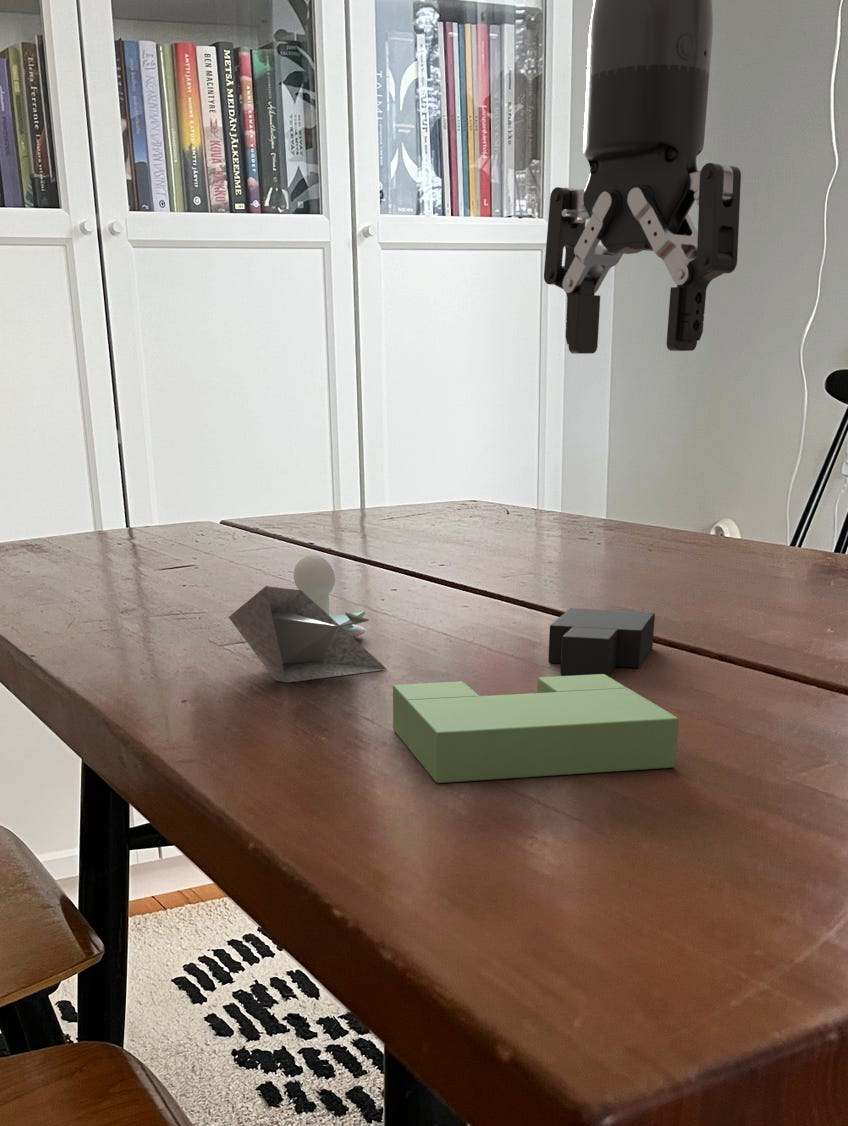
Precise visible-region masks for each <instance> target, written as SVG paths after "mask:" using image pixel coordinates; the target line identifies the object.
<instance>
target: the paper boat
mask: <svg viewBox="0 0 848 1126" xmlns="http://www.w3.org/2000/svg"><path fill="white" fill-rule="evenodd" d="M352 614H353V613H349V612H345V613H344V615H346V616H347V617H348V618H349V619H350V620H351V621H352V622H351V623H347V624H342V625H339V624H337V623H336V622H335V621H334V620H333V619H332V618H331V617H330V616H331V615H330V614H329V615H328V614H327V613H325V612H324V611H323V610H322V609H321V608H320V607H319V606H318V605H317V604H316V603H315V602H313V601H312V600H311V599H310V598H309V597H308V596H307V595H306V594H305V593H304V592H303V591H302V590H298V589H295V588H284V587H278V586H271V585H265V586H264V587H263V588H262V589H260V590H259V591H258V592H257V593H256V594H254V595H253V596H252V597H251V598H250V599H248V600H247V601H246V602H245V603H244V604H243V605H241V606H240V607H238V609H237V610H235V611H234V612H233V613H232V614H230V615H229V616H228V619H229V620H230V622H231V623H232V624H233V626H234V627H235V628H236V629H237V631H238V632H239V633H240V635H241V636H242V637H243V639H244V640H245V642H246V643H247V644H248V646H249V647H250V649H251V650H252V651H253V652H254V654H255V655H256V657H257V658H258V659H259V660H260V662H261V663H262V665H263V666H264V667H265V668H266V670H267V671H268V673H269V674H270V675H271V676H272V678H273V680H274V681H276V682H281V683H286V684H287V683H293V682H301V681H302V682H303V681H309V680H317V679H325V678H332V677H340V676H348V675H356V674H362V673H363V674H364V673H373V672H378V671H380V672H381V671H387V670H388V668H387V667H386V666H385V665H383V664H382V663H381V662H380V661H379V660H378V659H377V658H376V657H375V656H374V655H372V654H371V653H370V652H369V651H368V650H367V649H366V648H365V647H364V646H363V645H362V644H361V643H359V641H357V640H356V639H355V638H354V637H352V636H351V635H349V634H348V633H347V632H346V631H345V630H344V629H343V628H342V627H343V626H347V625H352V624H354V625H358V624H361V623H366V622H369V621H370V620H369V618H365V617H359V616H356V615H352Z"/></svg>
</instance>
